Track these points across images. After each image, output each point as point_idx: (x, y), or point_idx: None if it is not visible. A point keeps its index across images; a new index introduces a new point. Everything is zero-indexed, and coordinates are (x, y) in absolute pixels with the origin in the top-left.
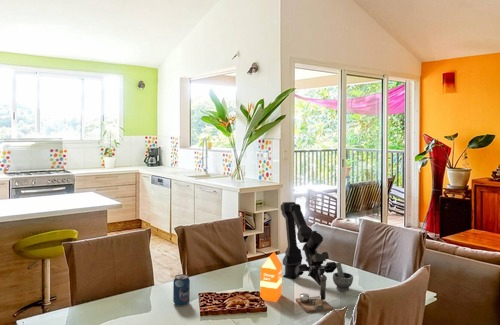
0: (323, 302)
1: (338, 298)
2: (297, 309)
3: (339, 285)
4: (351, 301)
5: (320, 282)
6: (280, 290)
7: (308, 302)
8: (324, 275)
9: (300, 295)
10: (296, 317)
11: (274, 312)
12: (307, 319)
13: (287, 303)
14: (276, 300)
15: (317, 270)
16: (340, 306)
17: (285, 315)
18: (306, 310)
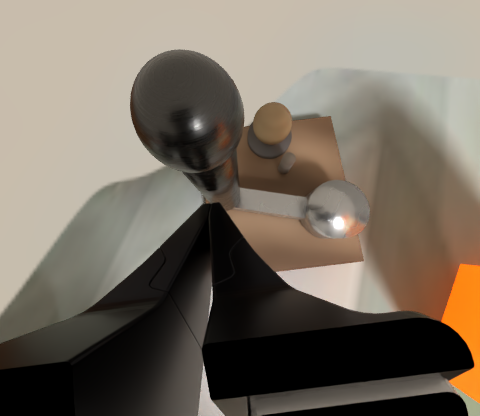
0: None
1: (116, 268)
2: (361, 164)
3: None
4: (72, 223)
5: (236, 153)
6: (475, 369)
7: None
8: (157, 58)
9: (367, 208)
10: (378, 94)
11: (471, 145)
12: (336, 75)
13: (401, 236)
14: (466, 268)
15: (223, 322)
16: (153, 174)
17: (423, 114)
18: (330, 127)
